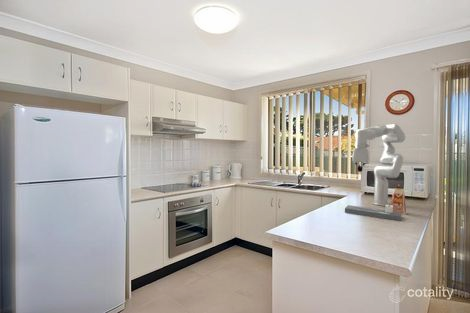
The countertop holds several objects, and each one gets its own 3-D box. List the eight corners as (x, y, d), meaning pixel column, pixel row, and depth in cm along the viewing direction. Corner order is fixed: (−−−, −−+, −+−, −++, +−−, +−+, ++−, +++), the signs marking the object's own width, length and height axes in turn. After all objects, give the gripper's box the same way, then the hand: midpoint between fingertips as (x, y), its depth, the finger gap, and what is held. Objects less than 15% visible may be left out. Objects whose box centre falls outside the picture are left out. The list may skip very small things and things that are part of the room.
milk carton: (405, 215, 170) (406, 185, 169) (389, 212, 175) (390, 183, 175) (406, 212, 177) (407, 184, 176) (390, 210, 183) (392, 182, 182)
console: (347, 209, 182) (348, 205, 182) (401, 216, 164) (401, 212, 164) (344, 212, 172) (344, 208, 172) (400, 221, 154) (401, 216, 154)
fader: (385, 210, 166) (385, 204, 166) (392, 211, 164) (393, 205, 164) (385, 212, 162) (385, 205, 162) (392, 213, 160) (392, 206, 160)
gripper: (373, 146, 181) (372, 172, 182) (350, 146, 189) (349, 170, 190) (372, 146, 175) (371, 173, 176) (348, 146, 183) (347, 171, 184)
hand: (359, 171), depth 183 cm, fingers closed
